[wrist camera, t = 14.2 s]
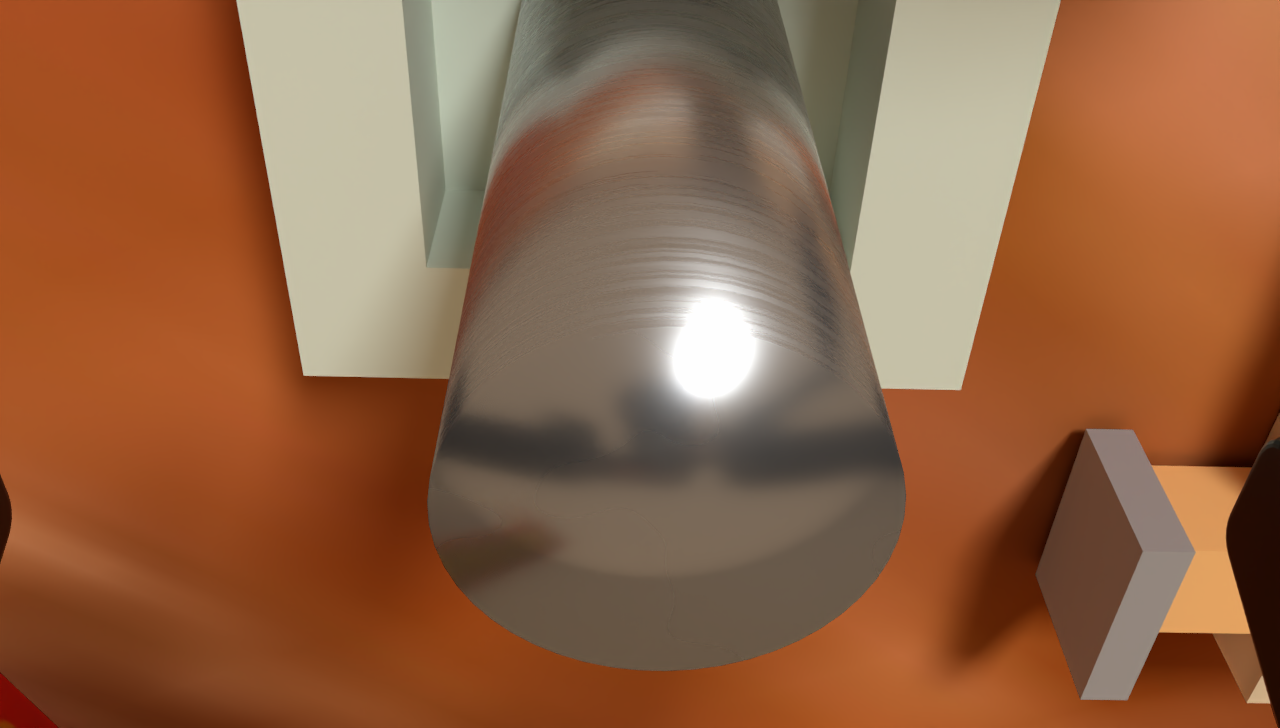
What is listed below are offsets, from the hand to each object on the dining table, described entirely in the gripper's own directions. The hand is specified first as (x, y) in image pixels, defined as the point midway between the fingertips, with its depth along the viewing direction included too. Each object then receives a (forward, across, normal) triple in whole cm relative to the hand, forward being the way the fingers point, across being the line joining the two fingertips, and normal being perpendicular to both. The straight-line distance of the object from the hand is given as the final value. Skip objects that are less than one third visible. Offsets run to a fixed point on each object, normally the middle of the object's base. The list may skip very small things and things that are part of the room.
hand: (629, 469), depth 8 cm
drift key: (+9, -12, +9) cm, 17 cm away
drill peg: (+8, 0, 0) cm, 9 cm away
